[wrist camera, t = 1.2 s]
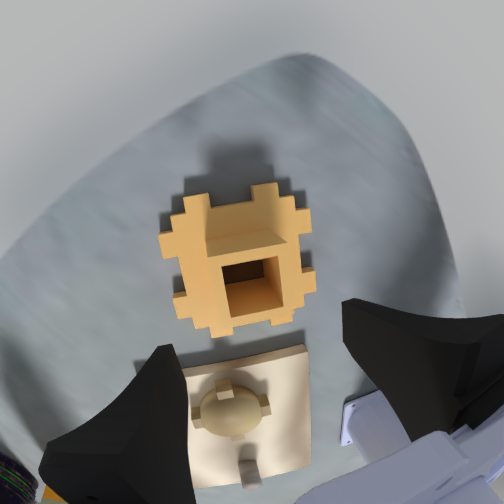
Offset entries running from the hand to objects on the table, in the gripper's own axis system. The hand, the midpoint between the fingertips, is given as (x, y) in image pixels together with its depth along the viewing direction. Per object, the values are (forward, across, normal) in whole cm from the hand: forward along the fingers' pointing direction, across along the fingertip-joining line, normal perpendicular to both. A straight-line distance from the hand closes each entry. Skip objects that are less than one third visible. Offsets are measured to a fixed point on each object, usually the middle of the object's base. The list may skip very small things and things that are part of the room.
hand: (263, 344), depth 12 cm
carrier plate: (+9, +3, +16) cm, 19 cm away
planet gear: (+10, -1, -1) cm, 10 cm away
